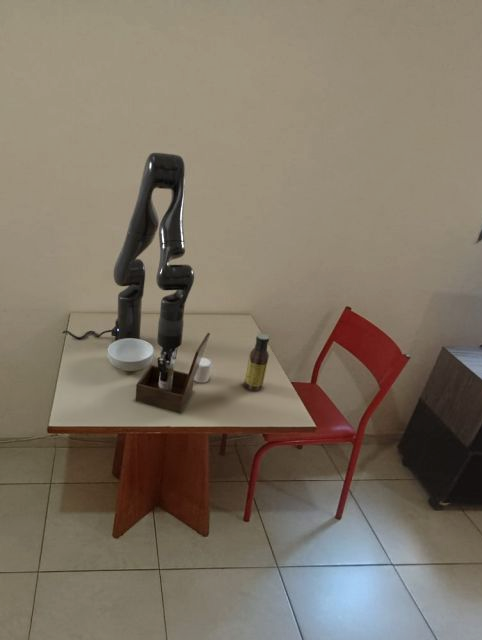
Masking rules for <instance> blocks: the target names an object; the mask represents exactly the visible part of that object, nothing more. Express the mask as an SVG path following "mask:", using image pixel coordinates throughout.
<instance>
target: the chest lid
mask: <svg viewBox="0 0 482 640" xmlns="http://www.w3.org/2000/svg"><path fill="white" fill-rule="evenodd" d="M210 336H211V333H210V332H207V333H206V335H205V337H204V338H203V340H202V342H201V343H200V345H198V348H197V349H196V351H195V353H194V356H193V360H192V361H191V365H190V368H189V371H188V373H187V374H188V376H187V379H186V382H185V385H184V388H183V391H182V394H181V395H183V396H184V394H185V392H186V391H187V389H188V387H189V385H190V384H191V382H192V380H193V378H194V377H195V375H196V372H197V369H198V367H199V364H200V361H201V358H202V357H203V355H204V353H205V349H206V347H207V344H208V341H209V339H210Z"/></svg>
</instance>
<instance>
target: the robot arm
mask: <svg viewBox="0 0 482 640" xmlns="http://www.w3.org/2000/svg"><path fill="white" fill-rule="evenodd" d="M185 187H186V166H185V161H184V158H183V157H182V156H181V155H180V154H179V155H178V154H175V153H164V152H151V153H150V154H149V155H148V156H147V158H146V160H145V163H144V168H143V171H142V175H141V180H140V186H139V190H138V195H137V198H136V202H135V205H134V209H133V212H132V214H131V217H130V220H129V224H128V227H127V231H126V235H125V238H124V241H123V245H122V246H121V247H122V248H121V250H120V252H119V254H118V257H117V259H116V260H115V264H114V267H113V273H112V274H113V280H114V282H115V284H116V285H117V286H119V287H126V288H124V289H123V290H121V291H120V292H119V293H118V295H117V318H116V319H115V323H114V324H115V325H114V327H113V328H111V329H107V330H104V331H102V332H101V333H99V334H97V333H96V331H94V330H88V331H87V332H86V333H85V334H84V335H82V336H76V335H74V334H73V333H72V332H71V331H70V330H64V331H62V334H65V333H67V334H69V335H70V336H71V337H72V338H74V339H77V340H82V339H84V338H86V337H87V335H88V334H93V335H94V336H95V337H97V338H100V337H101V336H102V335H104V334H106V333H111V334H110V335H111V336H112V337H114V342H115V341H117V340H120V339H127V338H134V339H140V340H141V329H142V328H141V325H142V307H143V306H142V305H143V304H142V303H143V297H144V292H145V284H146V283H145V282H146V267H145V264H144V262H143V260H142V259H140V258H138V257H139V256H140V255H142V254H143V253H144V252H145V251H146V250H147V249H148V248H149V247H150V246H151V244H152V243H153V241H154V239H155V238H156V234H157V231H158V237H159V238H158V240H159V250H160V251H159V263H158V268H157V272H156V279H155V280H156V285H157V286H158V288H159V289H160V290H161V291H175V292H173V293H170V294H167V295H164V296H163V297H162V298H161V302H160V308H159V309H160V310H159V319H158V326H157V340H156V341H157V344H158V345H159V346H160V347H161V349H160V356H159V357H157V366H158V372H161V375H160V380H161V381H165V382H166V381H167V378H168V369H169V365H171V361H172V358H173V359H174V360H176V359H177V354H178V350H179V347H181V345H182V343H183V342H182V341H183V333H184V325H185V323H184V316H185V307H186V303H187V299H188V297H189V294H190V292H191V290H192V287H193V285H194V282H195V271H194V268H193V267H192V266H191V265H189V264H184V263H183V264H170V262H171V261H174V260H178V259H180V258H182V257H184V255H185V253H186V243H185V242H186V241H185V231H184V209H185V207H184V206H185ZM156 189H161V190H170V192H171V194H170V195H171V198H170V203H169V205H168V208H167V209H166V211H165V213H164V215H163V217H162V218H161V221H159V220H160V219H159V216H158V212H157V210H156V207H155V205H154V201H153V193H154V191H155V190H156ZM167 361H169V362H167Z"/></svg>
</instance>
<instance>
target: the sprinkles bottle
mask: <svg viewBox="0 0 482 640" xmlns="http://www.w3.org/2000/svg"><path fill="white" fill-rule="evenodd" d="M167 362H169V361H167ZM175 363H176V361H175V359H173V358H172V361H171V365H169V369H168V378H167V381H166V382H165V381H161V380H160V377H159V389H161V390H164V391H168V392H171V388H172V380H173V370H175V369H174V368H175ZM160 375H161V372H160Z"/></svg>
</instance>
